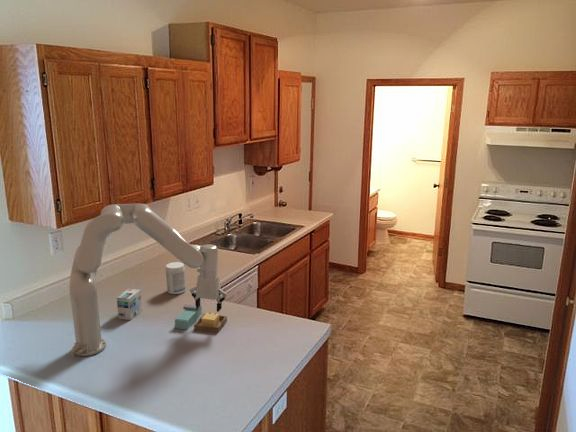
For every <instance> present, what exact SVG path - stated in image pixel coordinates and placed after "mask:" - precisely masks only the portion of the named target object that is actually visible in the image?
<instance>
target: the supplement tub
mask: <svg viewBox="0 0 576 432" xmlns="http://www.w3.org/2000/svg"><path fill="white" fill-rule="evenodd" d="M165 276H166V291H167V293H168V294H170V295H180V294H183V293H184V292H186V290H187V287H186V284H187V283H186V269H185V264H184V263H183V262H182V261H175V262H174V261H173V262H169V263H168V264H166V265H165Z"/></svg>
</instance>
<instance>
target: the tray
mask: <svg viewBox="0 0 576 432" xmlns="http://www.w3.org/2000/svg"><path fill="white" fill-rule="evenodd" d="M205 314H206V313H202V314H201V315H200V316H199V318H198V319H197V320H196V321H195V322H194V323H193V330H194V331H200V332H208V333H216V334H219V333H220V331H221V330H222V329H223V327H224V326H225V324H227V322H228V316H227V315H221V314H219V323H218V324H217V326H216V327H214V326H205V325H202V319H201V318H202V317H203V316H204V315H205Z"/></svg>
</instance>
